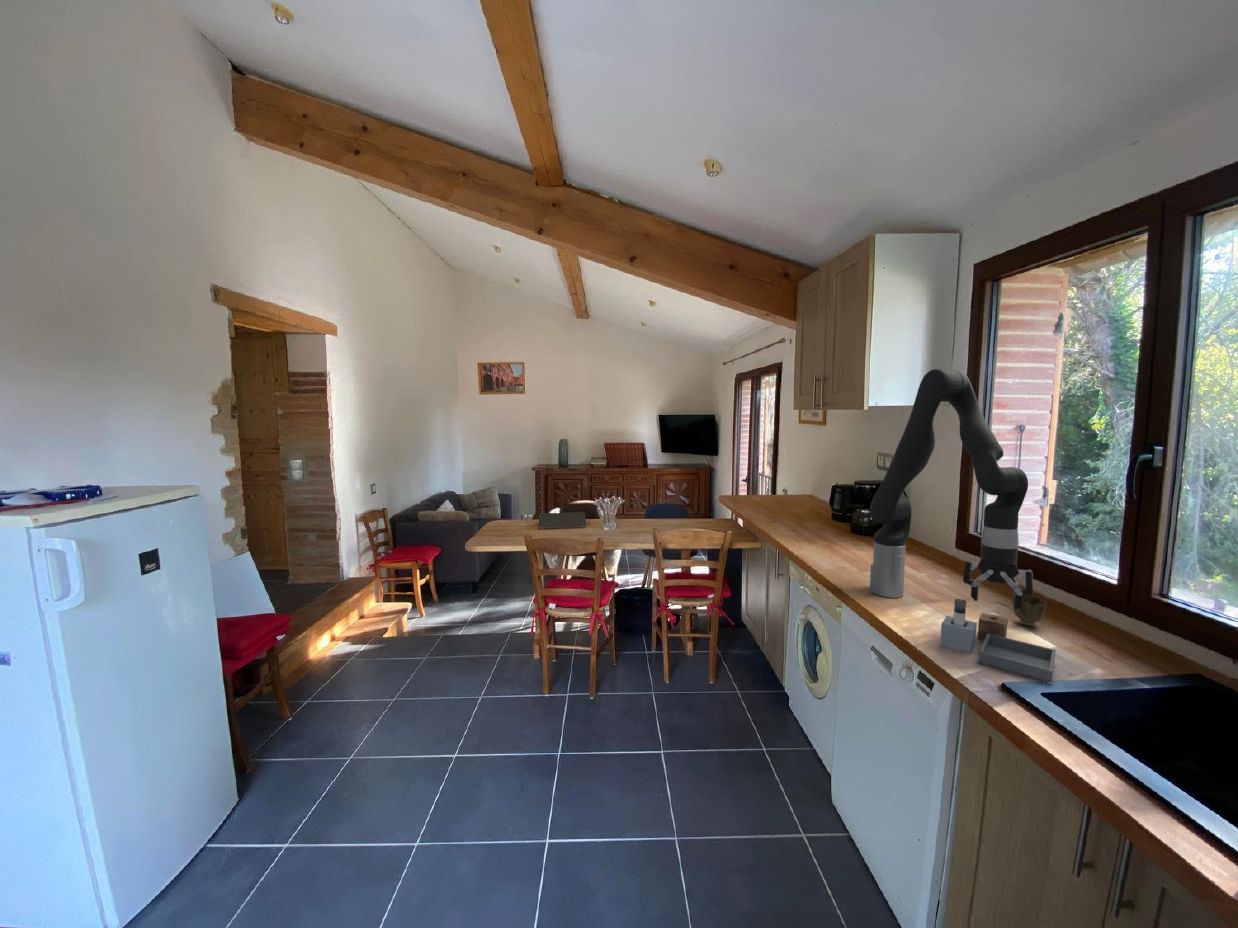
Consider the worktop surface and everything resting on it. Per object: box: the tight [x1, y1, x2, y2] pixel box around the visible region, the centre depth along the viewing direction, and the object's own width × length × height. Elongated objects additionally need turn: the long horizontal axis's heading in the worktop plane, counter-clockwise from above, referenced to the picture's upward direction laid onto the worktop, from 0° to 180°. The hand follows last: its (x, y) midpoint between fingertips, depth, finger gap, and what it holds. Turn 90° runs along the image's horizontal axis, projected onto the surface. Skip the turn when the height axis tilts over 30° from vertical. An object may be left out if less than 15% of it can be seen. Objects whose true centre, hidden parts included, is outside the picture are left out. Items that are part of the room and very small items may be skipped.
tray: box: [978, 633, 1057, 683], centre depth 117 cm, size 13×13×3 cm
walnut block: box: [976, 612, 1009, 643], centre depth 129 cm, size 6×6×6 cm
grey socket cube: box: [939, 615, 978, 655], centre depth 126 cm, size 6×6×6 cm
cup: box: [1012, 593, 1048, 628], centre depth 137 cm, size 8×7×8 cm
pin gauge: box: [953, 598, 967, 627], centre depth 126 cm, size 2×2×12 cm
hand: (995, 604), depth 128 cm, fingers open, 8 cm apart
